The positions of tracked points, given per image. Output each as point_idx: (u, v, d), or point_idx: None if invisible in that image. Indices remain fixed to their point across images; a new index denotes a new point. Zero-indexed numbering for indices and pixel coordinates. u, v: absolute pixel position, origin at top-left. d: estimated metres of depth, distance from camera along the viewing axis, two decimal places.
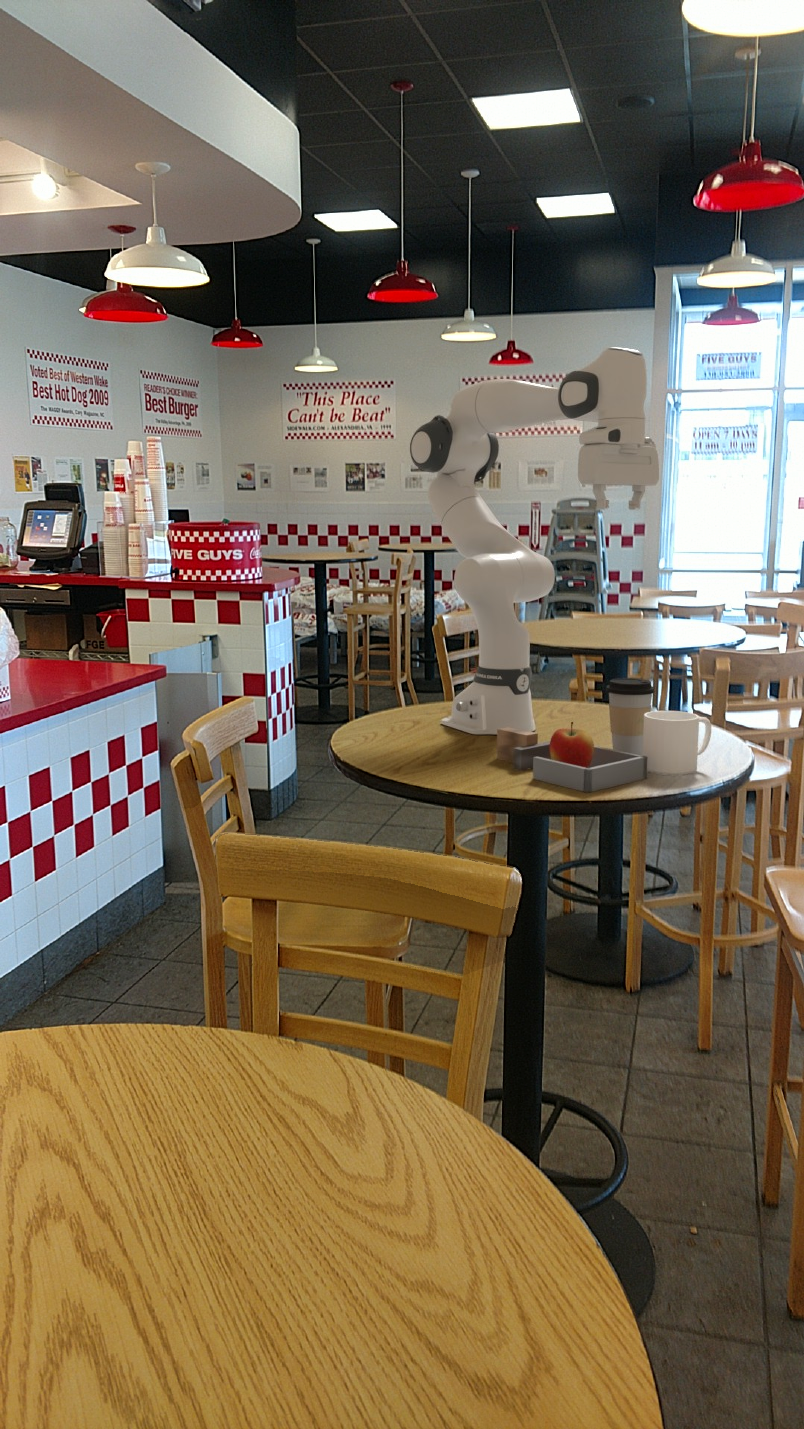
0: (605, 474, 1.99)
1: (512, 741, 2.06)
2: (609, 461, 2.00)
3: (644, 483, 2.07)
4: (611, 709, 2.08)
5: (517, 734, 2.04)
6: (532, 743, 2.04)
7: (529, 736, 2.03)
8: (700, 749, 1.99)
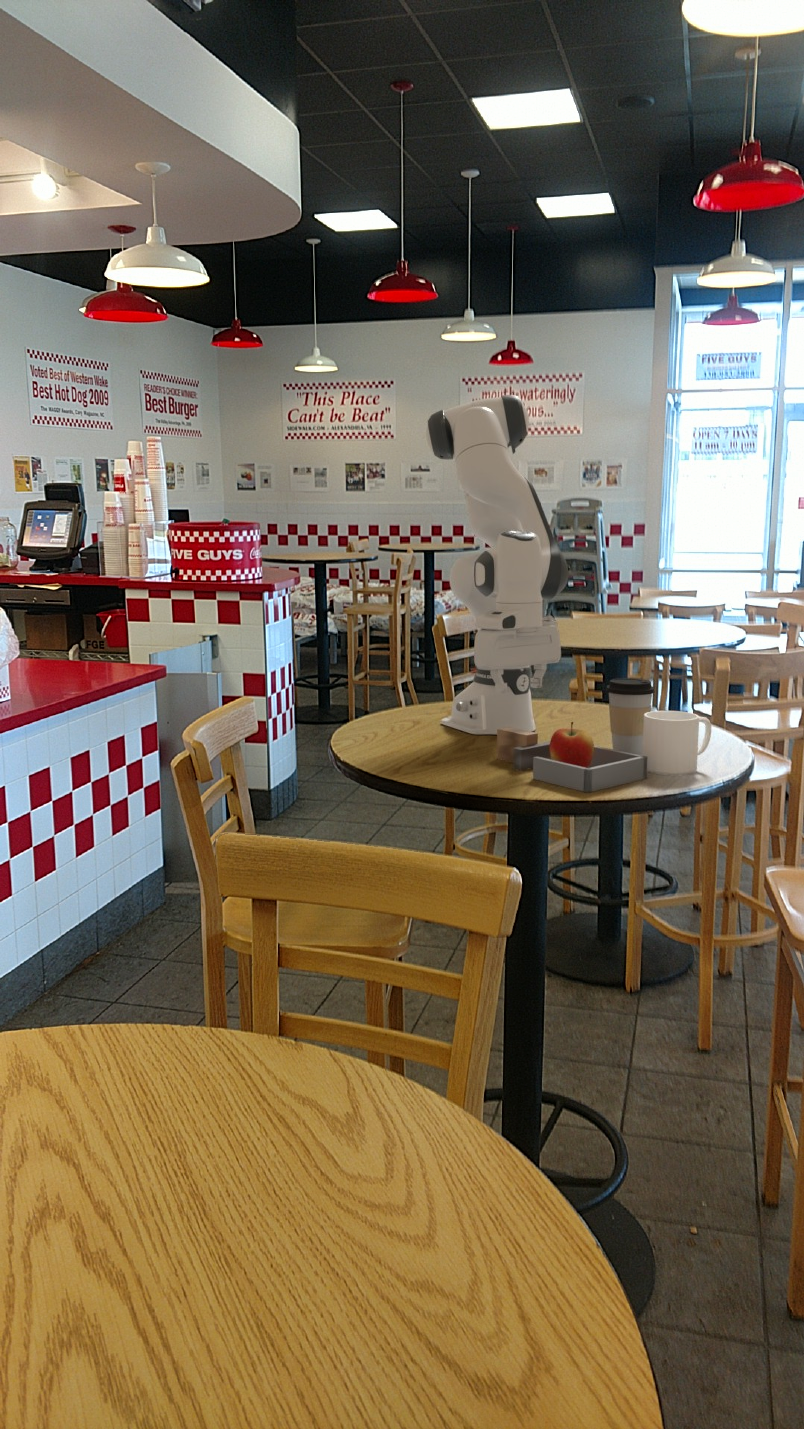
0: (501, 659, 1.98)
1: (512, 741, 2.06)
2: (505, 646, 1.99)
3: (545, 662, 2.06)
4: (611, 709, 2.08)
5: (517, 734, 2.04)
6: (532, 743, 2.04)
7: (529, 736, 2.03)
8: (700, 749, 1.99)
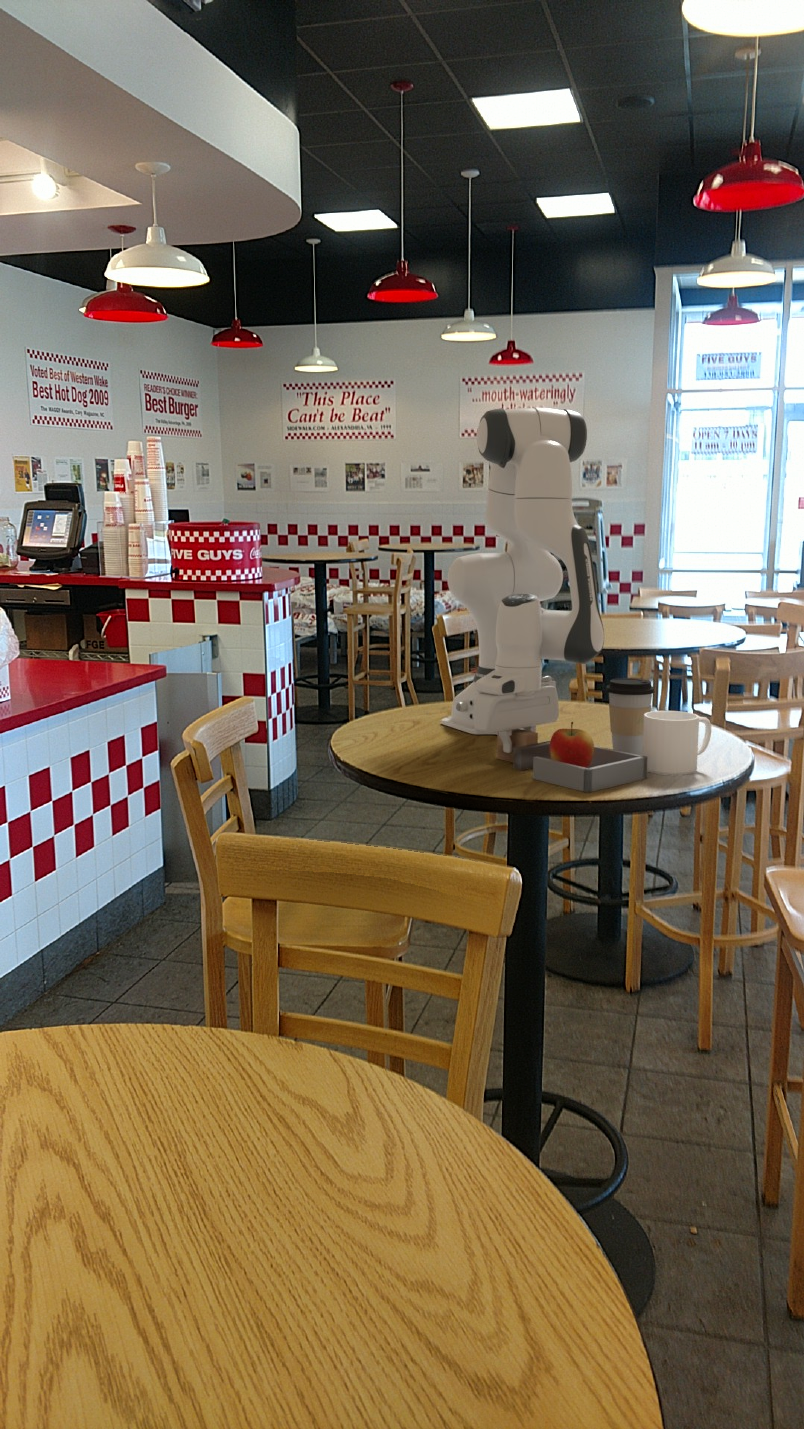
0: (500, 722, 2.00)
1: (512, 740, 2.06)
2: (504, 709, 2.01)
3: (543, 723, 2.08)
4: (611, 709, 2.08)
5: (517, 734, 2.04)
6: (532, 743, 2.04)
7: (529, 736, 2.03)
8: (700, 749, 1.99)
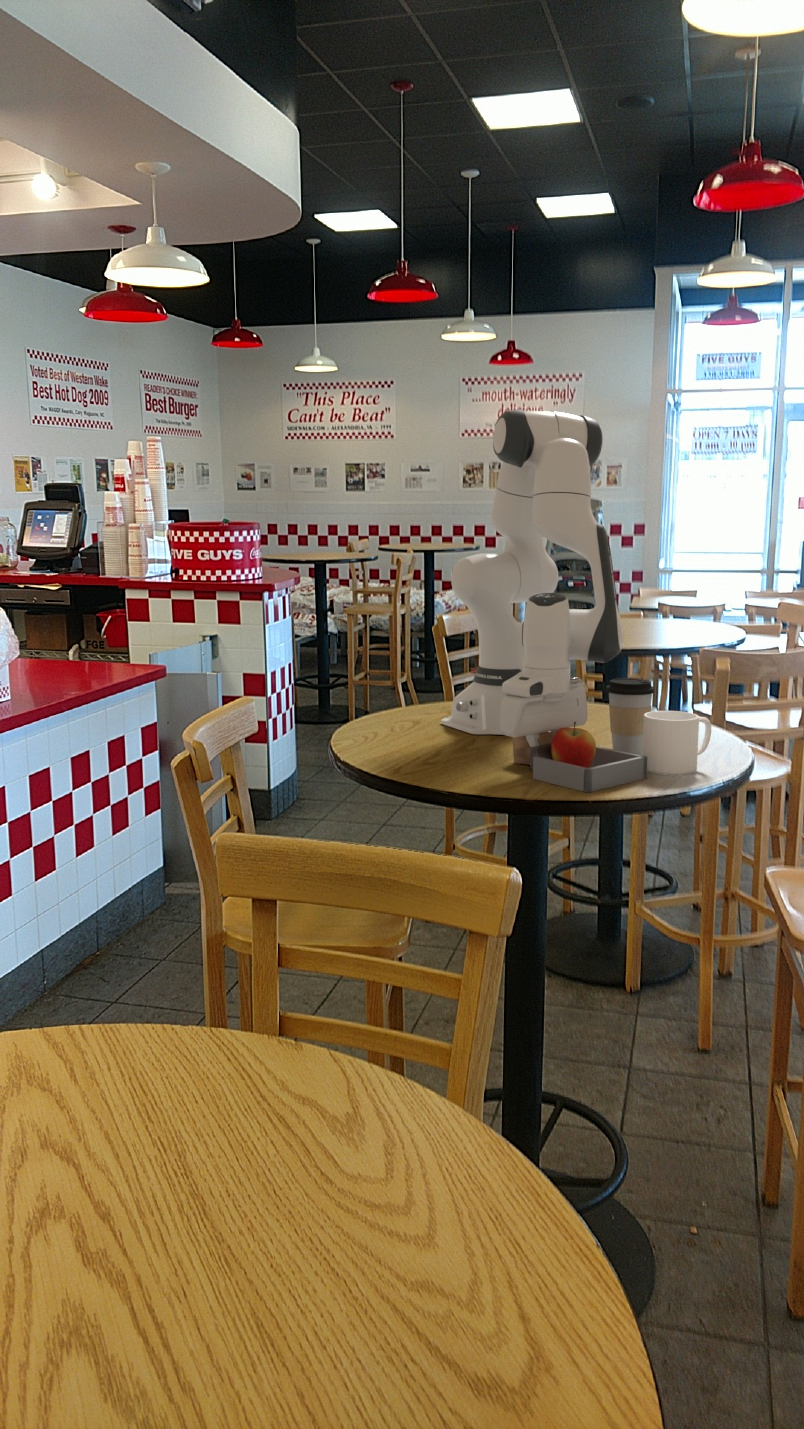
0: (528, 725, 1.95)
1: (527, 742, 2.02)
2: (532, 712, 1.95)
3: (571, 725, 2.02)
4: (611, 709, 2.08)
5: None
6: (548, 742, 2.00)
7: (544, 735, 1.99)
8: (700, 749, 1.99)
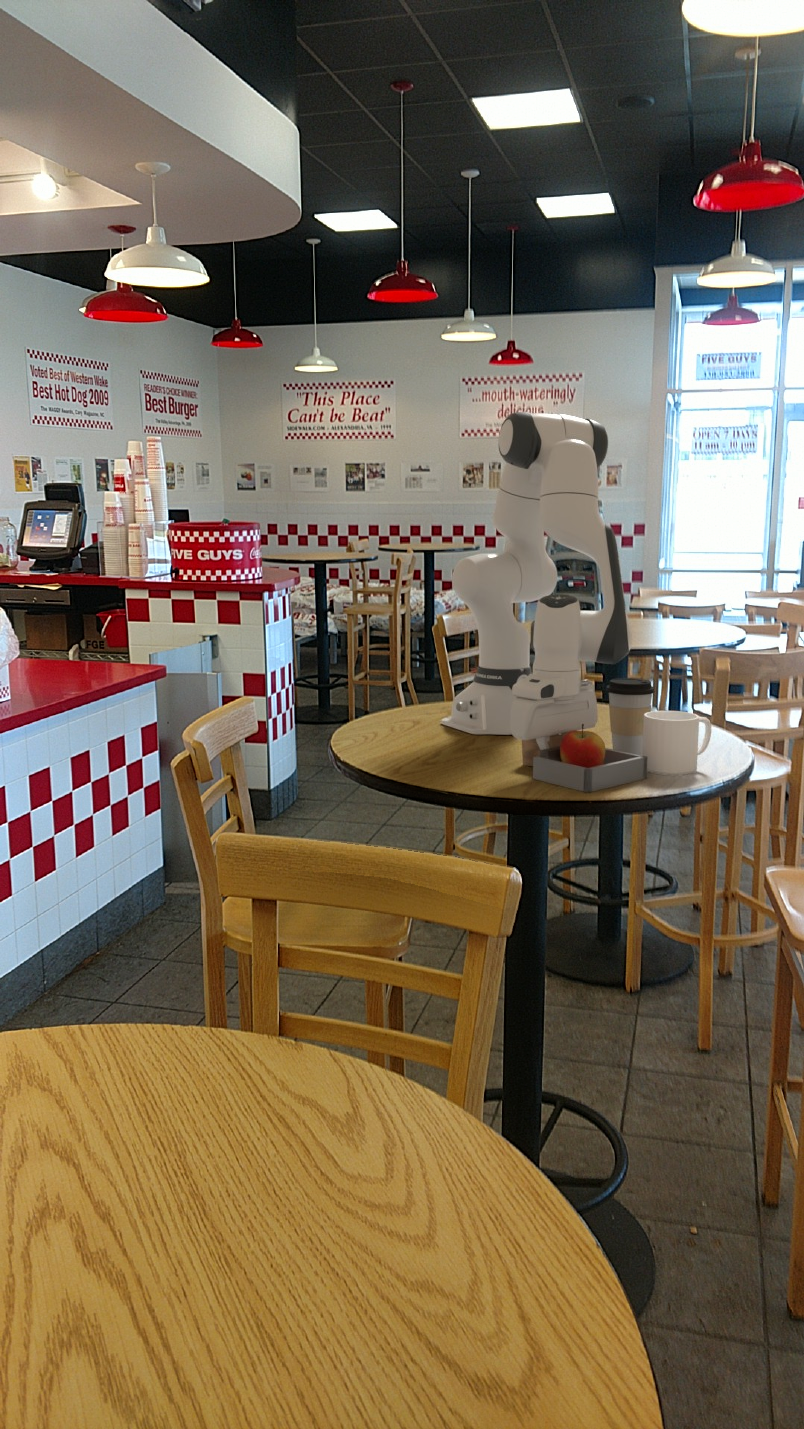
0: (538, 728, 1.93)
1: (537, 744, 2.00)
2: (543, 714, 1.94)
3: (581, 728, 2.01)
4: (611, 709, 2.08)
5: None
6: (558, 745, 1.98)
7: (555, 738, 1.98)
8: (700, 749, 1.99)
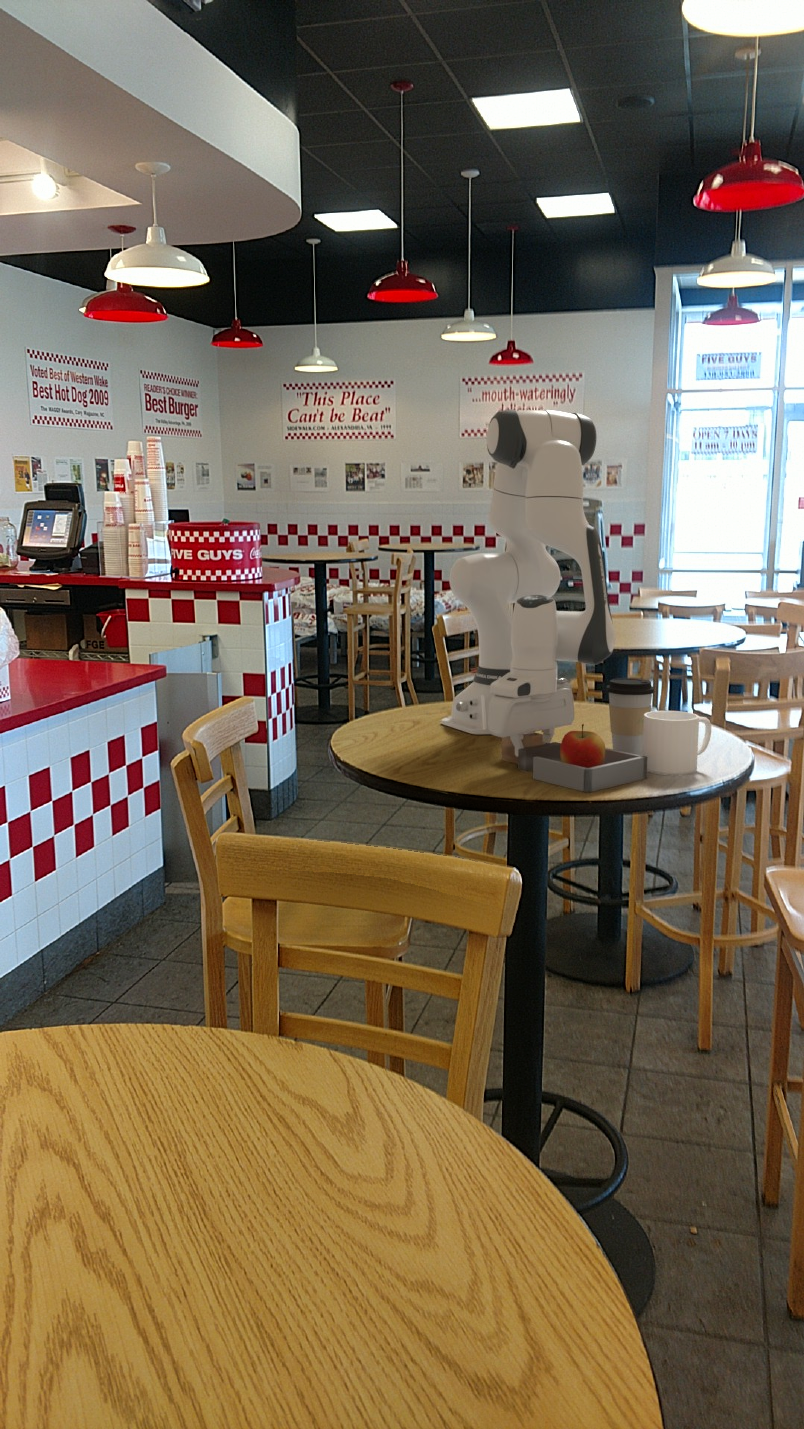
0: (515, 726, 1.97)
1: None
2: (520, 712, 1.98)
3: (558, 726, 2.05)
4: (611, 709, 2.08)
5: None
6: (537, 744, 2.03)
7: (534, 737, 2.02)
8: (700, 749, 1.99)
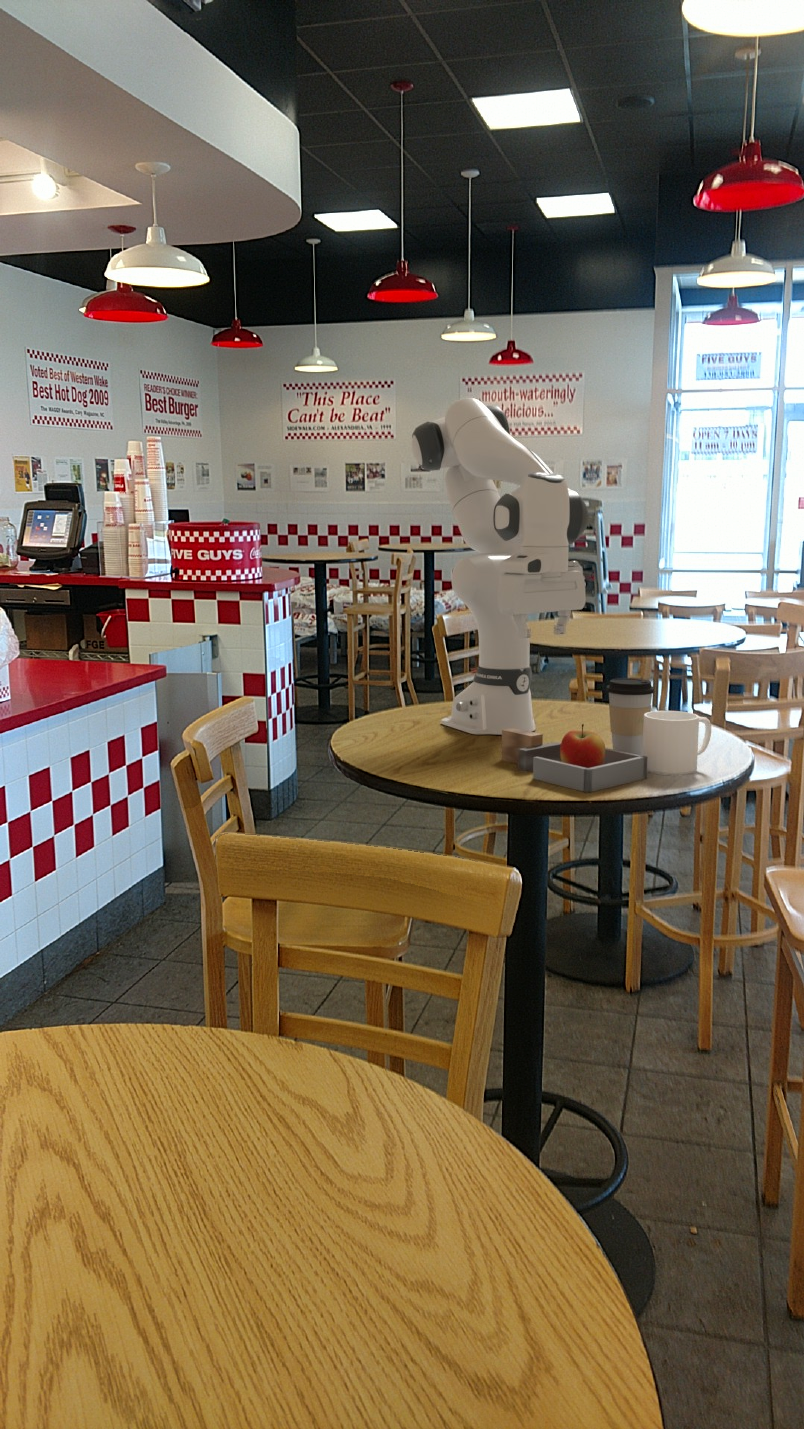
0: (525, 604, 1.94)
1: (517, 742, 2.05)
2: (530, 590, 1.95)
3: (569, 608, 2.02)
4: (611, 709, 2.08)
5: (522, 735, 2.03)
6: (537, 744, 2.03)
7: (534, 737, 2.02)
8: (700, 749, 1.99)
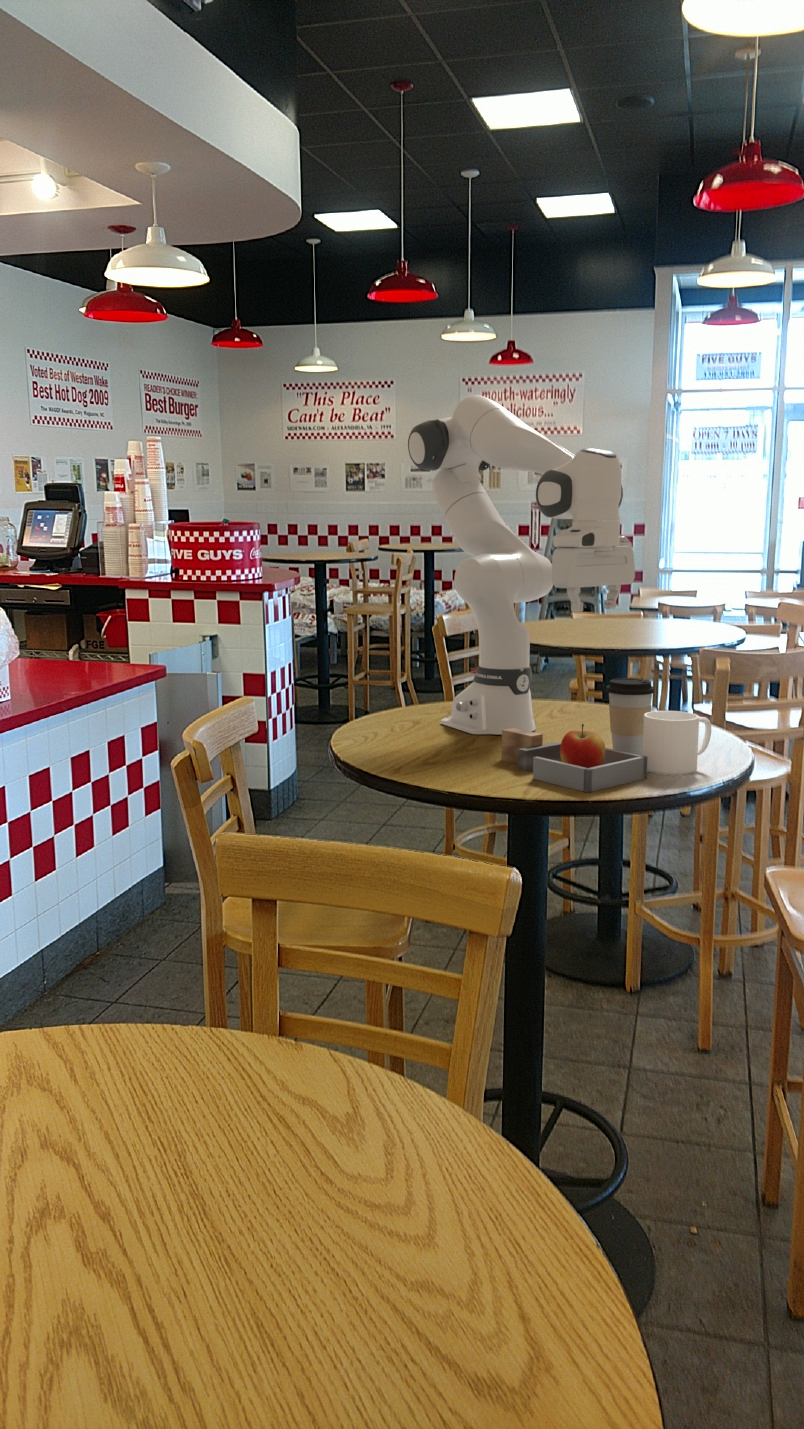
0: (579, 577, 1.97)
1: (517, 742, 2.05)
2: (583, 564, 1.98)
3: (619, 583, 2.05)
4: (611, 709, 2.08)
5: (522, 735, 2.03)
6: (537, 744, 2.03)
7: (534, 737, 2.02)
8: (700, 749, 1.99)
